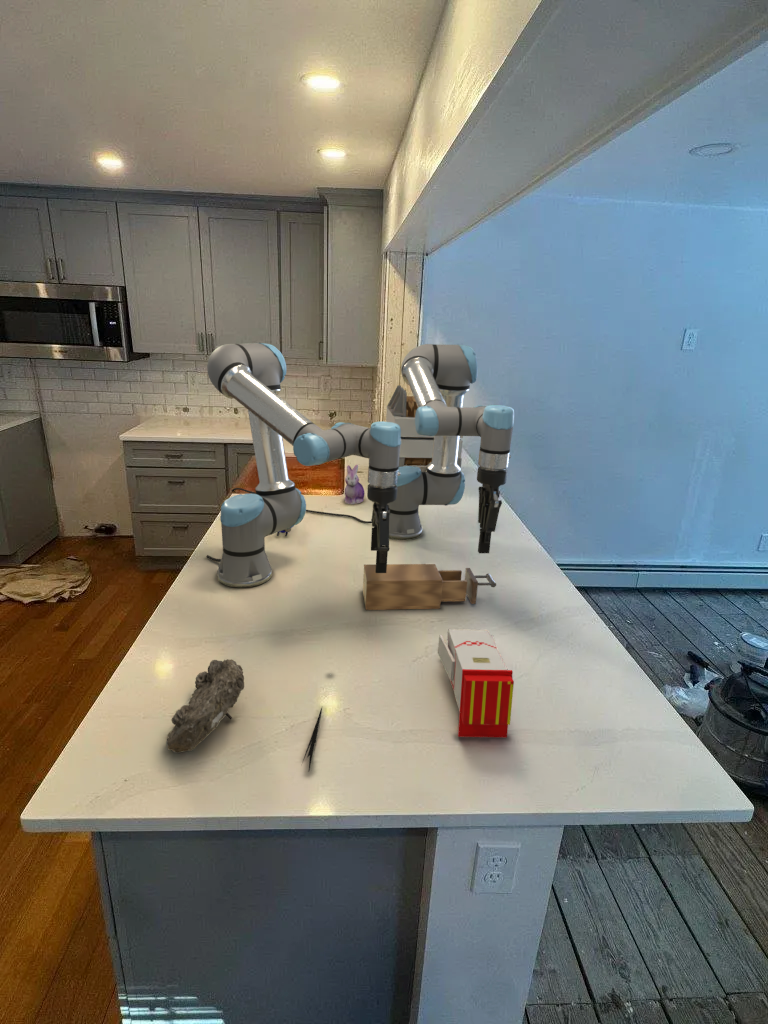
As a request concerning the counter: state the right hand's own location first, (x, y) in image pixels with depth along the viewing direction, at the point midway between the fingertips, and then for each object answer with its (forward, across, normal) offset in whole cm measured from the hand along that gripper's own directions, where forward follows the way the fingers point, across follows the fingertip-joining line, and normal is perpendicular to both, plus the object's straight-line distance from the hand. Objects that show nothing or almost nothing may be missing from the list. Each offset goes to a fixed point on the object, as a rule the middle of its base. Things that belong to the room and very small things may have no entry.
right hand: (483, 552), depth 152 cm
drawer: (+13, 0, +8) cm, 16 cm away
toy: (+14, -40, +13) cm, 44 cm away
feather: (+14, -46, +44) cm, 65 cm away
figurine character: (+14, +51, +56) cm, 77 cm away
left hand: (+3, 0, +28) cm, 28 cm away
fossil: (+14, -44, +64) cm, 79 cm away
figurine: (+14, +83, +29) cm, 89 cm away
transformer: (+14, +126, -5) cm, 127 cm away
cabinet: (+14, 0, +22) cm, 26 cm away
